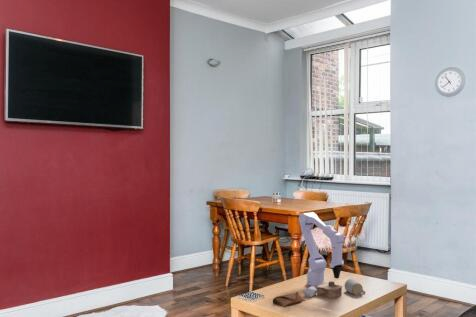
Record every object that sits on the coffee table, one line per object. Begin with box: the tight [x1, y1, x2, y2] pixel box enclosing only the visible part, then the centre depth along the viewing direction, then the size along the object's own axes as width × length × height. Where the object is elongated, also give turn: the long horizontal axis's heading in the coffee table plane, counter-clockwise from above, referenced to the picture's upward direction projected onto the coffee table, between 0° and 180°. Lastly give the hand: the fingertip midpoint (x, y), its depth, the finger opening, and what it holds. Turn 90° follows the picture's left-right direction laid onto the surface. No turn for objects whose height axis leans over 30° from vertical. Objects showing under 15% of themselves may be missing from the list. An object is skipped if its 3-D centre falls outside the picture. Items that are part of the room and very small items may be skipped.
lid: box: [316, 280, 343, 291], centre depth 239 cm, size 10×10×2 cm
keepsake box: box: [316, 287, 343, 300], centre depth 239 cm, size 10×10×4 cm
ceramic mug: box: [344, 278, 366, 296], centre depth 244 cm, size 11×8×8 cm
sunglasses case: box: [272, 291, 307, 308], centre depth 227 cm, size 18×7×7 cm, turn 127°
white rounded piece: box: [303, 285, 317, 298], centre depth 237 cm, size 6×5×5 cm
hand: (336, 278), depth 246 cm, fingers closed
